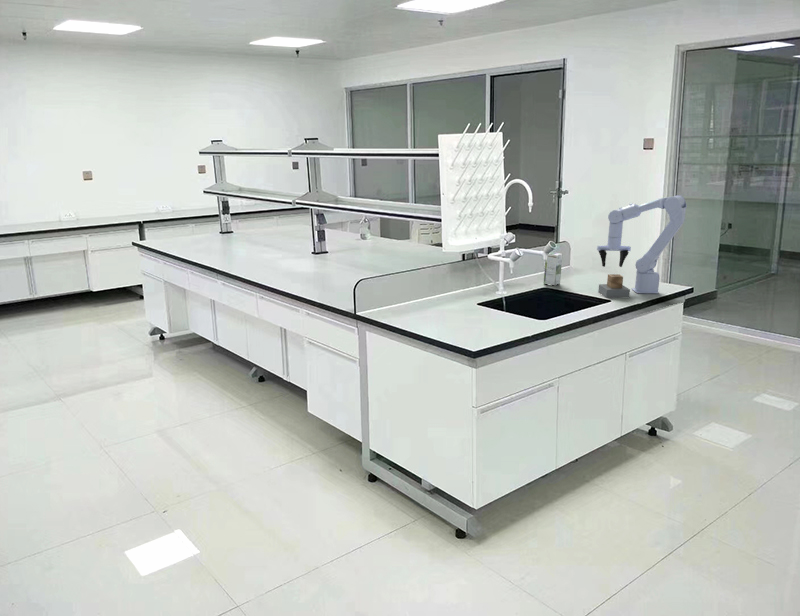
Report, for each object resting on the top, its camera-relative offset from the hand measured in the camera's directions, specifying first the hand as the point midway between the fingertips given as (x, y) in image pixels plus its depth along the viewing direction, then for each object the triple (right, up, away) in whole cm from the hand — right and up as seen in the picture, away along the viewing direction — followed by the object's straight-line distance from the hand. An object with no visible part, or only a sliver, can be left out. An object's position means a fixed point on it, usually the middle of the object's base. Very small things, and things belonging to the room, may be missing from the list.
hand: (612, 266), depth 292 cm
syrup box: (-26, -8, +6) cm, 28 cm away
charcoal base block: (-4, -14, -13) cm, 19 cm away
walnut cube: (-4, -10, -14) cm, 17 cm away
